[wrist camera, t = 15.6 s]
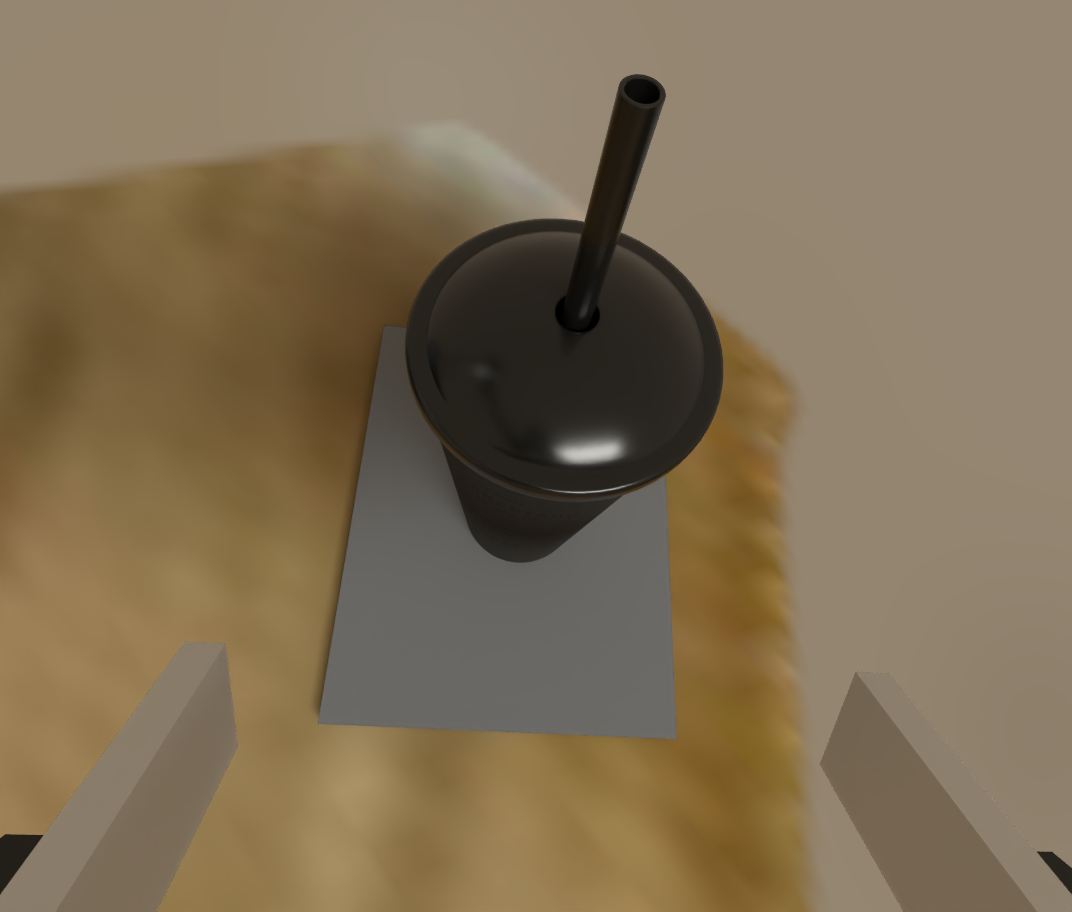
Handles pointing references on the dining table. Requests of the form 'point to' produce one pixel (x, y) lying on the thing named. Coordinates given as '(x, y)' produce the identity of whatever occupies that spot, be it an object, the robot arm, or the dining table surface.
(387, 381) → the placemat
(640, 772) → the dining table surface
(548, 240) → the drinking cup
